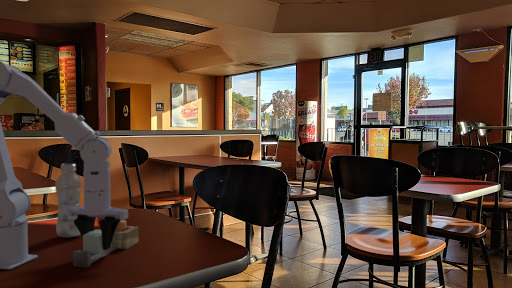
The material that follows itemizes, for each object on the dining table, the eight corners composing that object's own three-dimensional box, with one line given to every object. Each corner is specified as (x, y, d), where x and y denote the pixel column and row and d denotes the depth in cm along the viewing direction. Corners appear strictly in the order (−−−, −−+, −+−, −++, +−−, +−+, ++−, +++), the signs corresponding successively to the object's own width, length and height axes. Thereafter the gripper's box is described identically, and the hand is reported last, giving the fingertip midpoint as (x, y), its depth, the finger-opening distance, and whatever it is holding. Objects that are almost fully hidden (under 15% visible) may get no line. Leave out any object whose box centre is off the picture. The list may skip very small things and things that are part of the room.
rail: (73, 266, 83) (72, 251, 83) (107, 247, 96) (107, 234, 96) (87, 267, 83) (87, 252, 83) (120, 248, 95) (120, 235, 95)
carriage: (82, 252, 87) (82, 235, 87) (96, 245, 92) (95, 229, 92) (99, 254, 86) (98, 236, 86) (111, 247, 91) (111, 230, 91)
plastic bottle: (72, 241, 101) (71, 165, 100) (50, 239, 103) (48, 164, 101) (88, 234, 107) (87, 163, 106) (66, 232, 109) (65, 162, 108)
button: (111, 238, 97) (111, 222, 97) (118, 234, 100) (118, 219, 100) (122, 238, 97) (122, 223, 97) (128, 235, 100) (128, 220, 100)
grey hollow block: (101, 247, 96) (101, 231, 96) (114, 240, 102) (114, 225, 102) (126, 249, 95) (126, 233, 95) (138, 241, 101) (138, 226, 101)
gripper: (134, 188, 91) (135, 244, 92) (80, 186, 94) (81, 240, 95) (118, 193, 84) (119, 254, 85) (60, 190, 87) (61, 249, 88)
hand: (97, 248), depth 89 cm, fingers closed on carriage, 4 cm apart
